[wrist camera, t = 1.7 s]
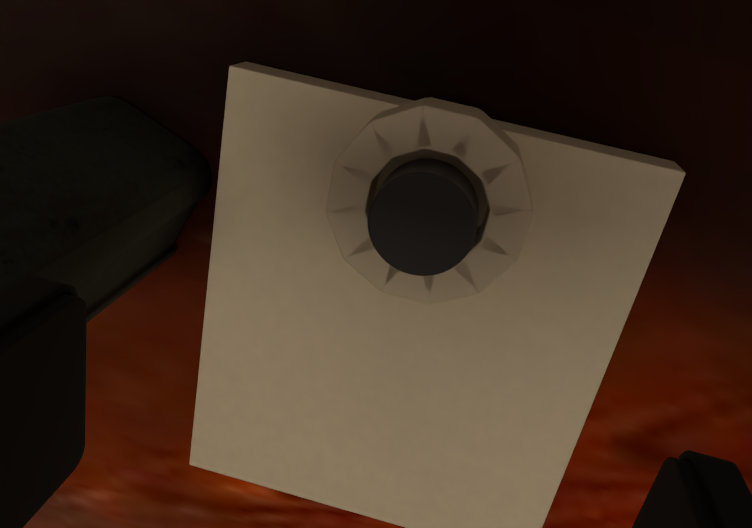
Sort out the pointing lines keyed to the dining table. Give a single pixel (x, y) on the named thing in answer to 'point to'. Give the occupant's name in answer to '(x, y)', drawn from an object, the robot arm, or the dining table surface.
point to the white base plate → (411, 304)
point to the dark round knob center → (424, 217)
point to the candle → (93, 197)
